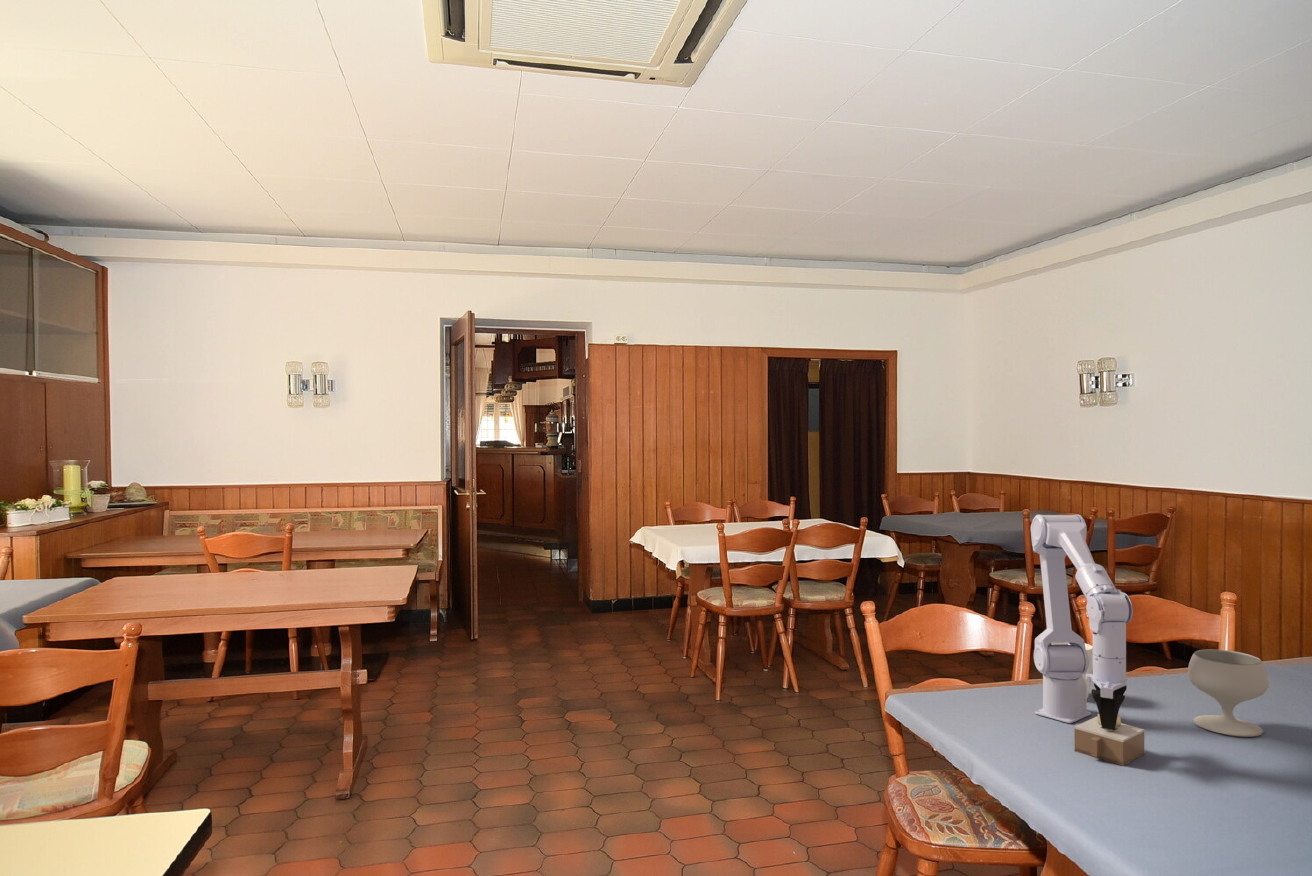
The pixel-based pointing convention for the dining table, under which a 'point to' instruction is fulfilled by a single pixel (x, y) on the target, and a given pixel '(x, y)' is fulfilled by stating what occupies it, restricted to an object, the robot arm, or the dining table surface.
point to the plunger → (1118, 723)
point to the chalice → (1228, 687)
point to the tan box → (1109, 742)
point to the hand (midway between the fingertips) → (1109, 724)
